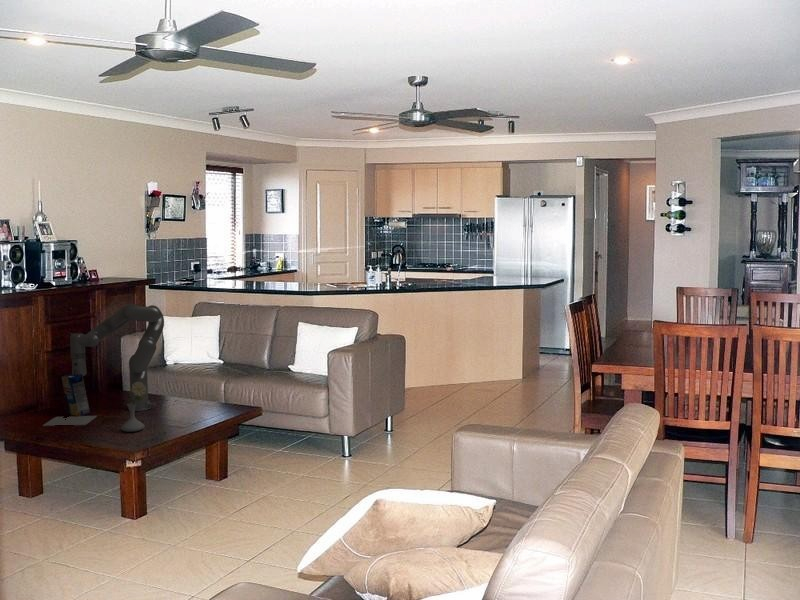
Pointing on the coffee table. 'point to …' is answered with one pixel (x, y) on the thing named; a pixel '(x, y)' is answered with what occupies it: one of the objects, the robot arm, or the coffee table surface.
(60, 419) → the mat
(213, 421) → the coffee table surface
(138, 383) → the flower in vase
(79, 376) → the beverage box
